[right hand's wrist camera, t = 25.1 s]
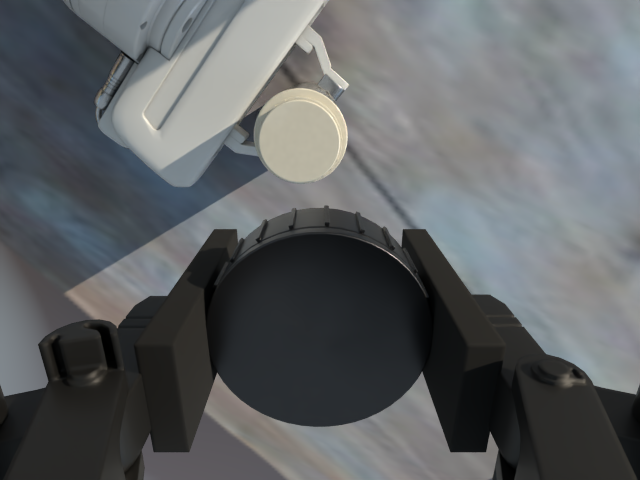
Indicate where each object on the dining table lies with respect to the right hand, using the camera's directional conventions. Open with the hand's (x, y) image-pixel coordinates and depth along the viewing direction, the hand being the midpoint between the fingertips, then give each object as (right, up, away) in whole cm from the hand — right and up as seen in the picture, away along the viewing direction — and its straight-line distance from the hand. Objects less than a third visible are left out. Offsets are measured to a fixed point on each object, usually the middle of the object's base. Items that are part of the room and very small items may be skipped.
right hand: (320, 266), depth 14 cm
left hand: (0, +9, +17) cm, 20 cm away
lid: (0, -1, -4) cm, 4 cm away
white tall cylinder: (-1, +12, +23) cm, 26 cm away
